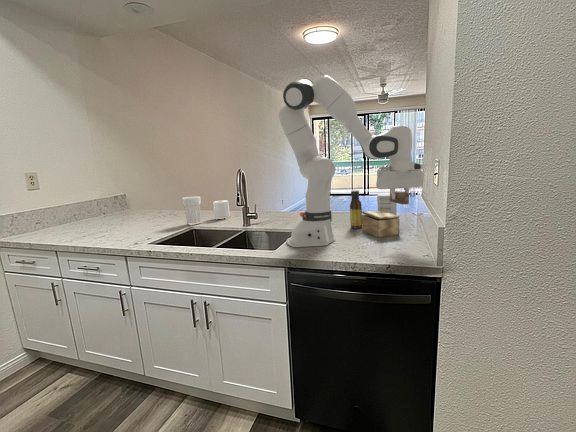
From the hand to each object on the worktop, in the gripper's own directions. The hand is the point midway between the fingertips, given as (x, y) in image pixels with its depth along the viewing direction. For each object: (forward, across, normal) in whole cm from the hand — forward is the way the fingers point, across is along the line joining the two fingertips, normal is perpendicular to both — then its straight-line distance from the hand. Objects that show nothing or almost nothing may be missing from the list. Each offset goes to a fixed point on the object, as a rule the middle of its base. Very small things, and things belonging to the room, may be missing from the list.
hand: (399, 198), depth 139 cm
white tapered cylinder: (+21, -74, +100) cm, 126 cm away
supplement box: (+19, +12, +32) cm, 39 cm away
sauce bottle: (+20, -4, +35) cm, 40 cm away
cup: (+22, -92, +90) cm, 131 cm away
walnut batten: (+2, 0, 0) cm, 2 cm away
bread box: (+19, +2, +20) cm, 28 cm away
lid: (+11, +2, +20) cm, 23 cm away
